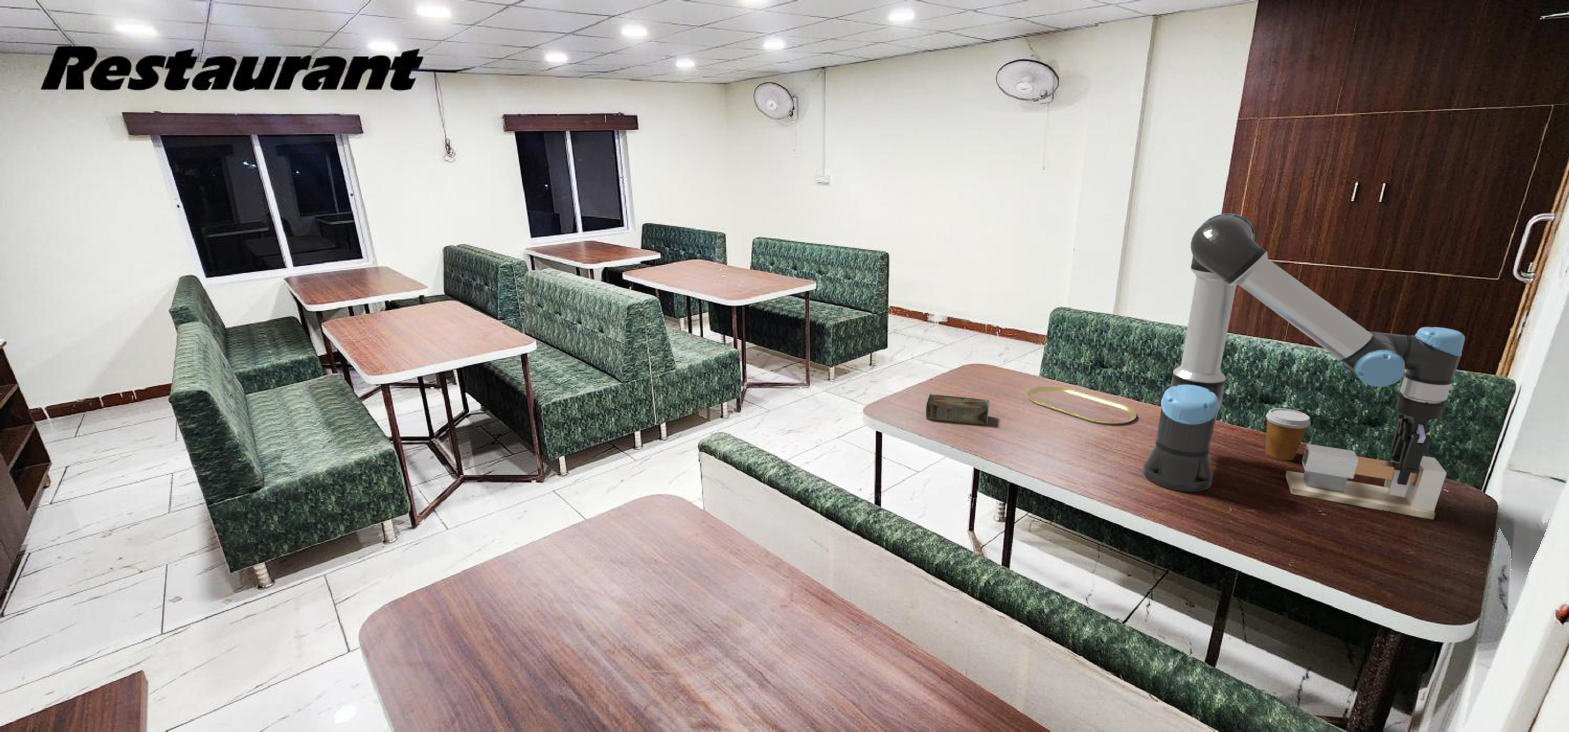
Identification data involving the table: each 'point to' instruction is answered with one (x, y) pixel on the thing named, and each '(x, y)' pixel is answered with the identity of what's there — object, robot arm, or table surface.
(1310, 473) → the sleeve
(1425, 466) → the socket block
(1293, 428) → the disposable coffee cup
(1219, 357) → the robot arm
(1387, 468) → the brown wooden bar
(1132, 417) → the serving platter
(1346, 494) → the bench board
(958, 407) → the beverage carton
